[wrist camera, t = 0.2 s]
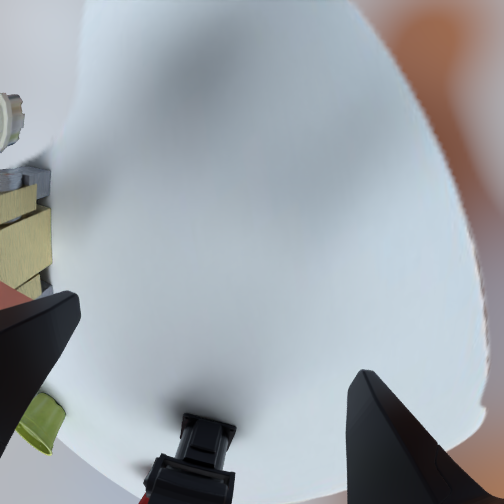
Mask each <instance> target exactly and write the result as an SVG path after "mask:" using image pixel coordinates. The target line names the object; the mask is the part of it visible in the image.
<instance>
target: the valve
mask: <svg viewBox="0 0 504 504" xmlns="http://www.w3.org/2000/svg"><path fill="white" fill-rule="evenodd" d="M50 175H51V171H50V170H45V169H40V168H35V167H30V166H24V167H19V168H15V169H2V170H0V281H1V282H3V283H5V284H6V285H8V286H10V287H12V288H13V289H15V290H17V291H19V292H20V293H22V294H24V295H26V296H28V297H29V298H31V299H33V300H36V299H39V298H42V297H46V296H49V295H53V289H52V285H50V284H48V283H46V282H44V281H42V280H40V274H38V273H39V272H40V271H42V270H43V269H45V268H46V267H48V266H49V265H51V264H52V253H51V208H48V207H44V206H41V205H38V204H36V199H39V198H42V197H45V196H48V195H49V192H50Z"/></svg>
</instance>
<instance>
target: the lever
mask: <svg viewBox="0 0 504 504" xmlns="http://www.w3.org/2000/svg"><path fill="white" fill-rule="evenodd" d="M32 300H33V299H31V298H29V297H28V296H26V295H24V294H22V293H20V292H19V291H17V290H15V289H13V288H12V287H10V286H8V285H6V284H5V283H3V282H1V281H0V310H2V309H5V308H8V307H12V306H15V305H19V304H22V303H25V302H29V301H32Z"/></svg>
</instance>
